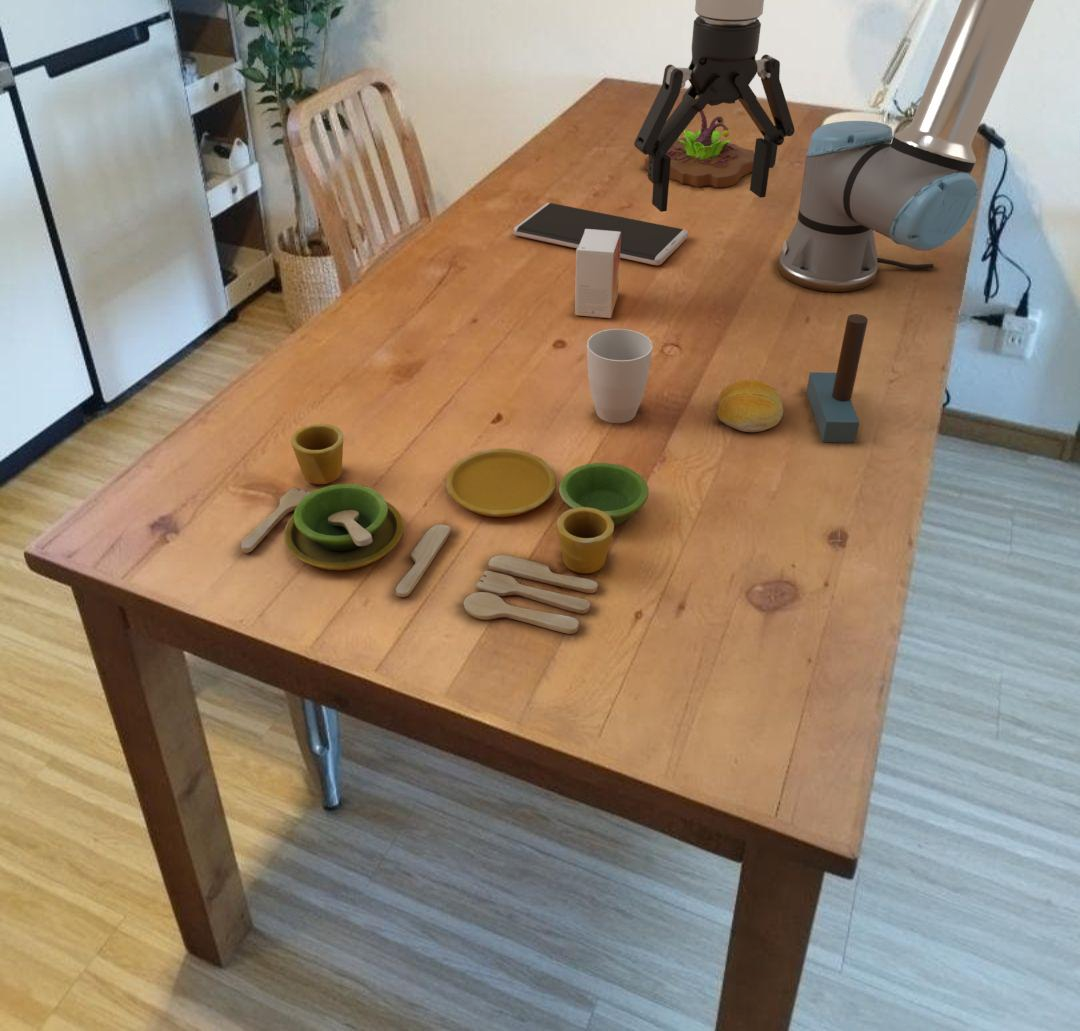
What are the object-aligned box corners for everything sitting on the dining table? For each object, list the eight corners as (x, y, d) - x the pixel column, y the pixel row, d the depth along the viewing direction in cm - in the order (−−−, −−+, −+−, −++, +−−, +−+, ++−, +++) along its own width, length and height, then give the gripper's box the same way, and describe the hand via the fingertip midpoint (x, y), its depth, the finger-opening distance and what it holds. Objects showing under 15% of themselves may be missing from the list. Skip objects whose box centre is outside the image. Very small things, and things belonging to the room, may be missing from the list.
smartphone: (547, 210, 191) (547, 200, 190) (689, 238, 182) (690, 228, 181) (511, 237, 182) (511, 227, 181) (659, 268, 172) (660, 258, 171)
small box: (611, 319, 159) (614, 253, 152) (574, 316, 160) (575, 249, 153) (619, 295, 165) (622, 230, 158) (583, 292, 166) (584, 227, 159)
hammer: (837, 392, 143) (857, 296, 134) (856, 442, 133) (878, 342, 125) (806, 391, 143) (823, 295, 134) (822, 442, 133) (842, 342, 125)
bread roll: (715, 432, 135) (718, 405, 133) (719, 395, 142) (722, 368, 140) (782, 438, 134) (786, 411, 131) (782, 401, 141) (786, 374, 138)
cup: (654, 402, 140) (659, 334, 134) (638, 435, 134) (643, 365, 128) (595, 391, 143) (597, 324, 136) (576, 423, 137) (578, 354, 130)
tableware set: (224, 553, 116) (213, 506, 112) (347, 422, 137) (341, 379, 133) (584, 648, 105) (586, 600, 101) (660, 489, 125) (664, 445, 121)
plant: (681, 142, 219) (686, 86, 212) (768, 163, 210) (776, 104, 203) (630, 171, 206) (633, 112, 199) (720, 194, 197) (726, 133, 190)
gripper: (807, 1, 126) (782, 177, 139) (612, 18, 120) (604, 202, 133) (842, 16, 121) (812, 198, 134) (639, 35, 114) (629, 225, 127)
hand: (709, 200), depth 133 cm, fingers open, 13 cm apart
